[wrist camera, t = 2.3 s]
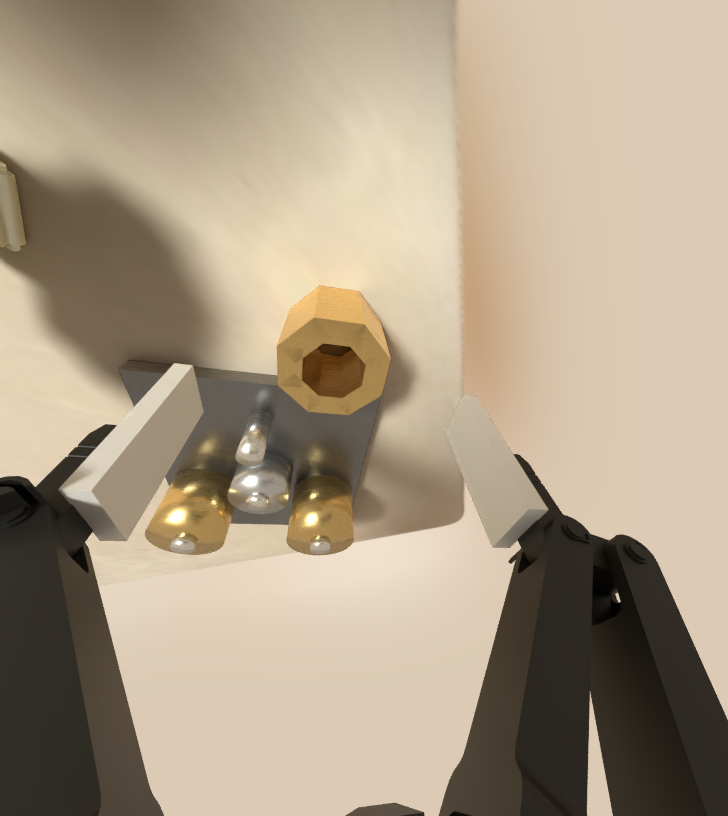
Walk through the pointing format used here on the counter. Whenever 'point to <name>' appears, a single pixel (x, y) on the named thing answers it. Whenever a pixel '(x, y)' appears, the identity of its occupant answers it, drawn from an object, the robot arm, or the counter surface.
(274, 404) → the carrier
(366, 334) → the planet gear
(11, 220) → the pneumatic valve
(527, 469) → the robot arm
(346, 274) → the counter surface
